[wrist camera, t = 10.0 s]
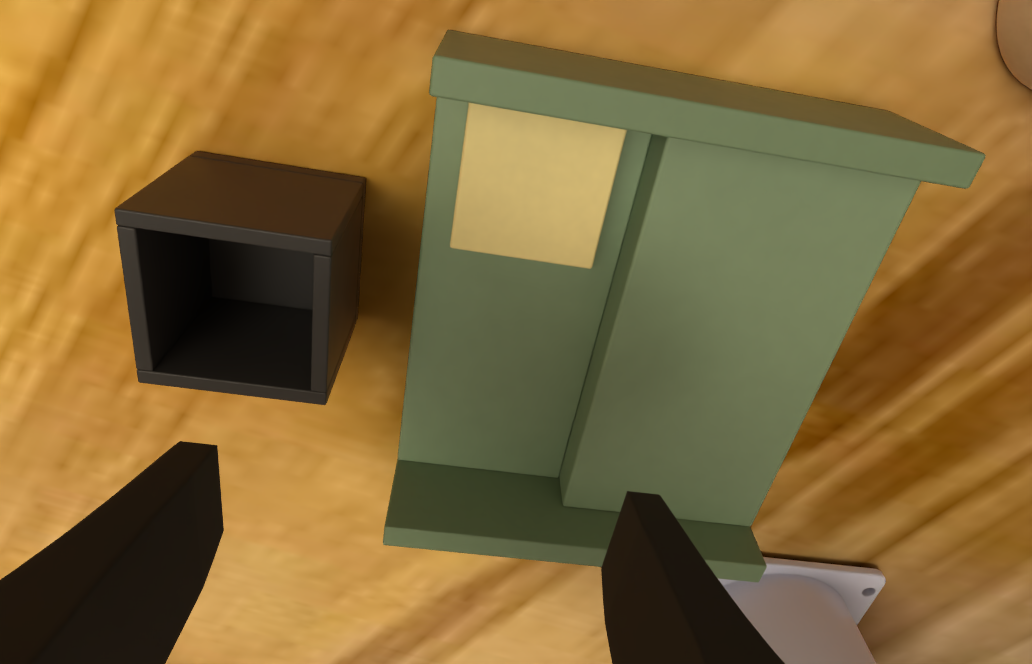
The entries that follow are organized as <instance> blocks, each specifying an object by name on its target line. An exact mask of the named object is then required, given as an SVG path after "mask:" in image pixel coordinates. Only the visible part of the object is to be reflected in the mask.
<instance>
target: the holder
mask: <svg viewBox="0 0 1032 664" xmlns="http://www.w3.org/2000/svg"><path fill="white" fill-rule="evenodd" d="M365 189H366V178H364V177H357V176H351V175H345V174H339V173H332V172H326V171H320V170H313V169H307V168H301V167H294V166H288V165H282V164H275V163H269V162H263V161H256V160H250V159H244V158H238V157H231V156H225V155H219V154H212V153H206V152H200V151H195V152H194V153H193V154H191V155H190V156H188V157H187V158H185V159H184V160H182V161H181V162H180V163H178V164H177V165H175V166H174V167H173V168H171V169H170V170H168V171H167V172H166V173H164V174H163V175H161V176H160V177H158V178H157V179H156V180H154V181H153V182H151V183H150V184H149V185H147V186H146V187H144V188H143V189H142V190H140V191H139V192H137V193H136V194H135V195H133V196H132V197H130V198H129V199H128V200H126V201H125V202H123V203H122V204H121V205H119V206H118V207H116V208H115V217H116V224H117V225H118V226H117V232H118V239H119V246H120V253H121V260H122V268H123V275H124V282H125V289H126V296H127V303H128V311H129V318H130V325H131V332H132V339H133V346H134V354H135V361H136V368H137V375H138V381H139V382H140V383H148V384H156V385H164V386H173V387H181V388H189V389H197V390H206V391H214V392H222V393H230V394H238V395H247V396H255V397H263V398H271V399H279V400H288V401H296V402H304V403H312V404H321V405H326V403H327V401H328V398H329V395H330V392H331V390H332V387H333V384H334V382H335V379H336V376H337V373H338V371H339V368H340V365H341V363H342V360H343V357H344V354H345V352H346V349H347V346H348V344H349V341H350V338H351V335H352V333H353V330H354V327H355V324H356V322H357V319H358V306H359V289H360V272H361V256H362V239H363V222H364V206H365Z"/></svg>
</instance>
